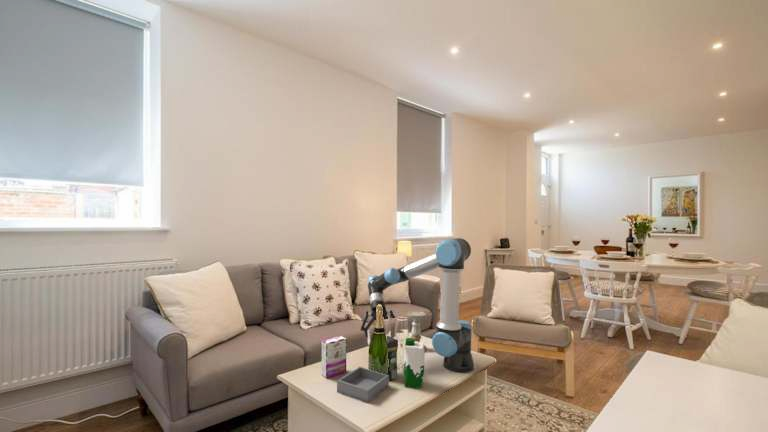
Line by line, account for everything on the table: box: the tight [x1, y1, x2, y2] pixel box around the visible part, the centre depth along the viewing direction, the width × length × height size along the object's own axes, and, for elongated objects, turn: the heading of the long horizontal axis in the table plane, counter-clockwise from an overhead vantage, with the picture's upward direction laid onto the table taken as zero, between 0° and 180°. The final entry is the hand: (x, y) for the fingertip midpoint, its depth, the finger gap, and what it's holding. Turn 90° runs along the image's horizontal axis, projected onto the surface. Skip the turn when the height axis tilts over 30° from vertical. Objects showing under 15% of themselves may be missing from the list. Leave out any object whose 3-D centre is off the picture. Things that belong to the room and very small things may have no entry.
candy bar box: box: [321, 335, 348, 379], centre depth 174 cm, size 11×5×16 cm, turn 129°
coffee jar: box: [387, 335, 399, 381], centre depth 172 cm, size 10×8×19 cm
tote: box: [336, 366, 390, 404], centre depth 160 cm, size 16×17×5 cm
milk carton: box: [403, 337, 426, 390], centre depth 165 cm, size 9×9×20 cm
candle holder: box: [406, 310, 428, 352], centre depth 207 cm, size 12×12×20 cm
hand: (383, 343), depth 177 cm, fingers open, 13 cm apart
